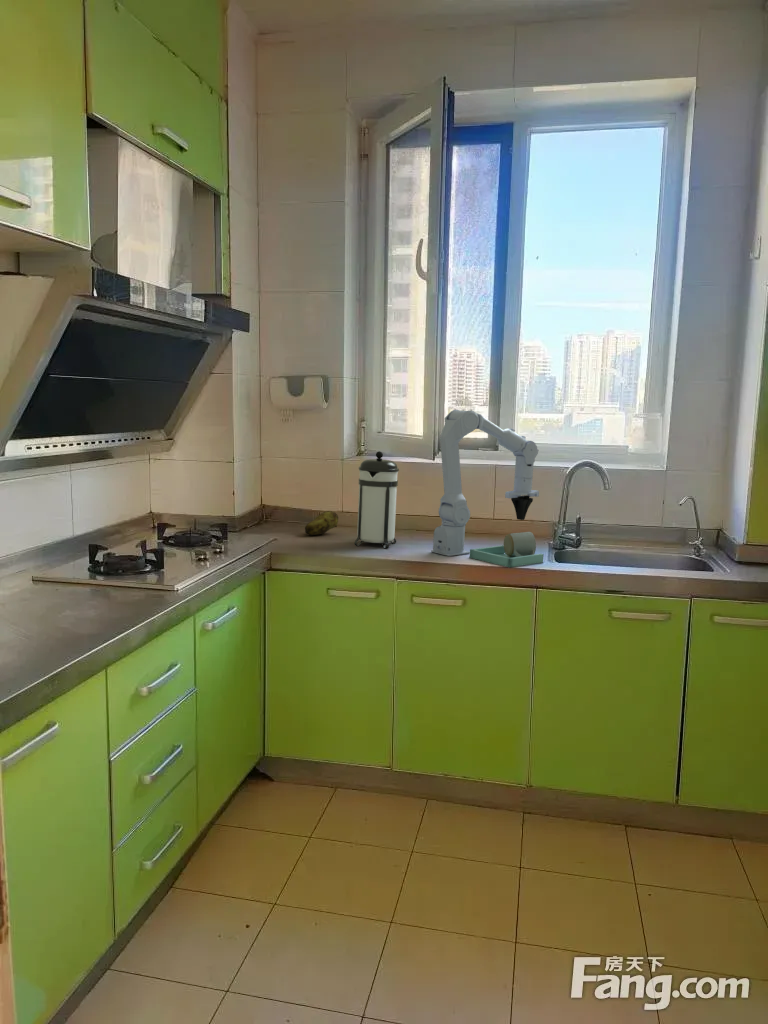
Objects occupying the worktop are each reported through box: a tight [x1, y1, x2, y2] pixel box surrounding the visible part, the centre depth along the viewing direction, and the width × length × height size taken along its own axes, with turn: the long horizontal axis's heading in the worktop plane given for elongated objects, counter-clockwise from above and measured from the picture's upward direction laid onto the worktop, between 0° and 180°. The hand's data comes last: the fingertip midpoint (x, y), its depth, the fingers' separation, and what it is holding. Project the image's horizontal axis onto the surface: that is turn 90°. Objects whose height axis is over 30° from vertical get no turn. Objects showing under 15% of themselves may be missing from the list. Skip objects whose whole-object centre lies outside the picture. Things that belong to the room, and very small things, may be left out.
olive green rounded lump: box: [304, 510, 339, 536], centre depth 262 cm, size 8×13×8 cm, turn 118°
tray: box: [469, 544, 544, 568], centre depth 232 cm, size 15×16×2 cm
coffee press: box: [354, 450, 400, 549], centre depth 247 cm, size 17×16×30 cm
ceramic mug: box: [503, 531, 537, 557], centre depth 236 cm, size 11×8×8 cm
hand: (520, 519), depth 249 cm, fingers closed
